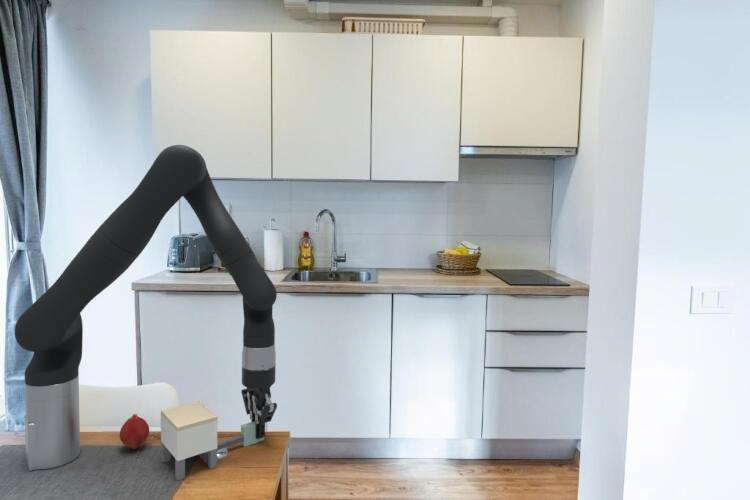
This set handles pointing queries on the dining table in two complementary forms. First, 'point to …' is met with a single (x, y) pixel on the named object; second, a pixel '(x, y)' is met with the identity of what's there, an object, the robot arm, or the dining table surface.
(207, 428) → the cabinet
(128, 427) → the onion
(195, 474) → the dining table surface
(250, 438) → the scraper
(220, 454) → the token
